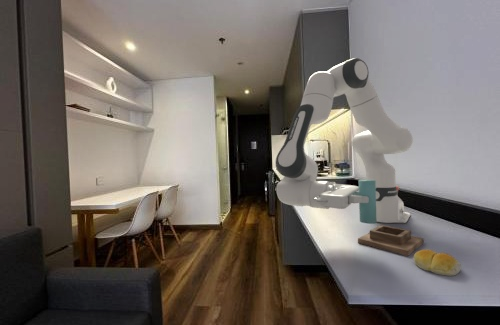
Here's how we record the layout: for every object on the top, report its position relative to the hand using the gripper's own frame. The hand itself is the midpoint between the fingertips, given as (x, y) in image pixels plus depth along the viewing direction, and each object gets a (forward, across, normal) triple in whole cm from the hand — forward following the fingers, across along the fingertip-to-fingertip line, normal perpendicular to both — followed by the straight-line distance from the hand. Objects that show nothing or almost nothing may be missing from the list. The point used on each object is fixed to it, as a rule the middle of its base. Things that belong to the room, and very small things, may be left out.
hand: (370, 197), depth 68 cm
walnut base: (+4, +11, +16) cm, 20 cm away
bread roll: (+14, -2, +17) cm, 22 cm away
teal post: (-1, 0, +7) cm, 7 cm away
